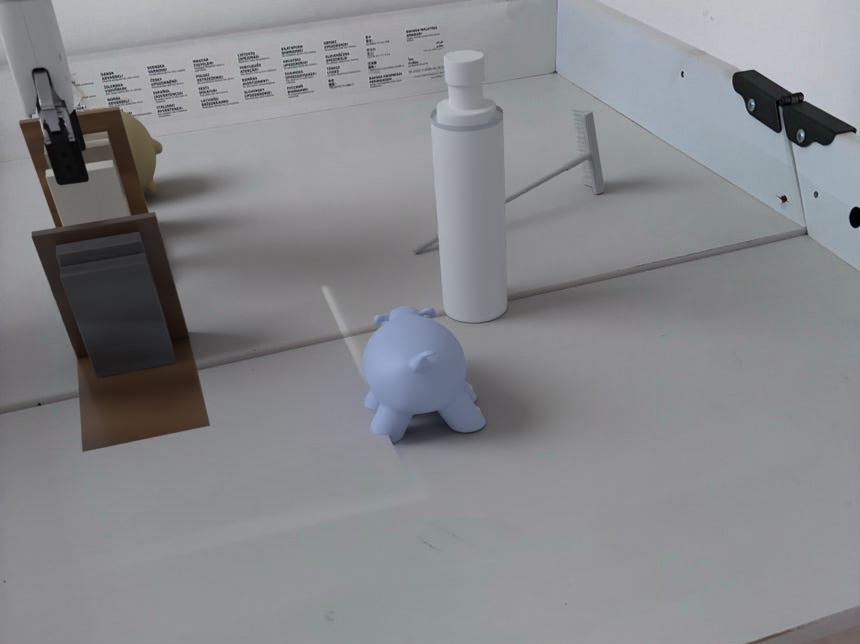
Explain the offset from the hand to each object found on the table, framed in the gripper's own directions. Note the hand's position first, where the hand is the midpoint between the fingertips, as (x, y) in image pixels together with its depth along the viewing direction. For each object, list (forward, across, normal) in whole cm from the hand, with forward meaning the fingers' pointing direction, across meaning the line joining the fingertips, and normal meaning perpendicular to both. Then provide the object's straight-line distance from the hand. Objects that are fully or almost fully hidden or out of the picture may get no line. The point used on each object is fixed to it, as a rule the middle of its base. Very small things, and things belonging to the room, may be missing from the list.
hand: (72, 166), depth 103 cm
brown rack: (+12, +29, +2) cm, 32 cm away
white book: (+10, 0, +1) cm, 10 cm away
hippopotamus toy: (+12, +40, +26) cm, 50 cm away
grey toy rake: (+11, +4, +48) cm, 49 cm away
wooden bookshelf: (+12, -3, +1) cm, 12 cm away
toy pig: (+11, -22, +4) cm, 25 cm away
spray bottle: (+11, +24, +37) cm, 46 cm away
